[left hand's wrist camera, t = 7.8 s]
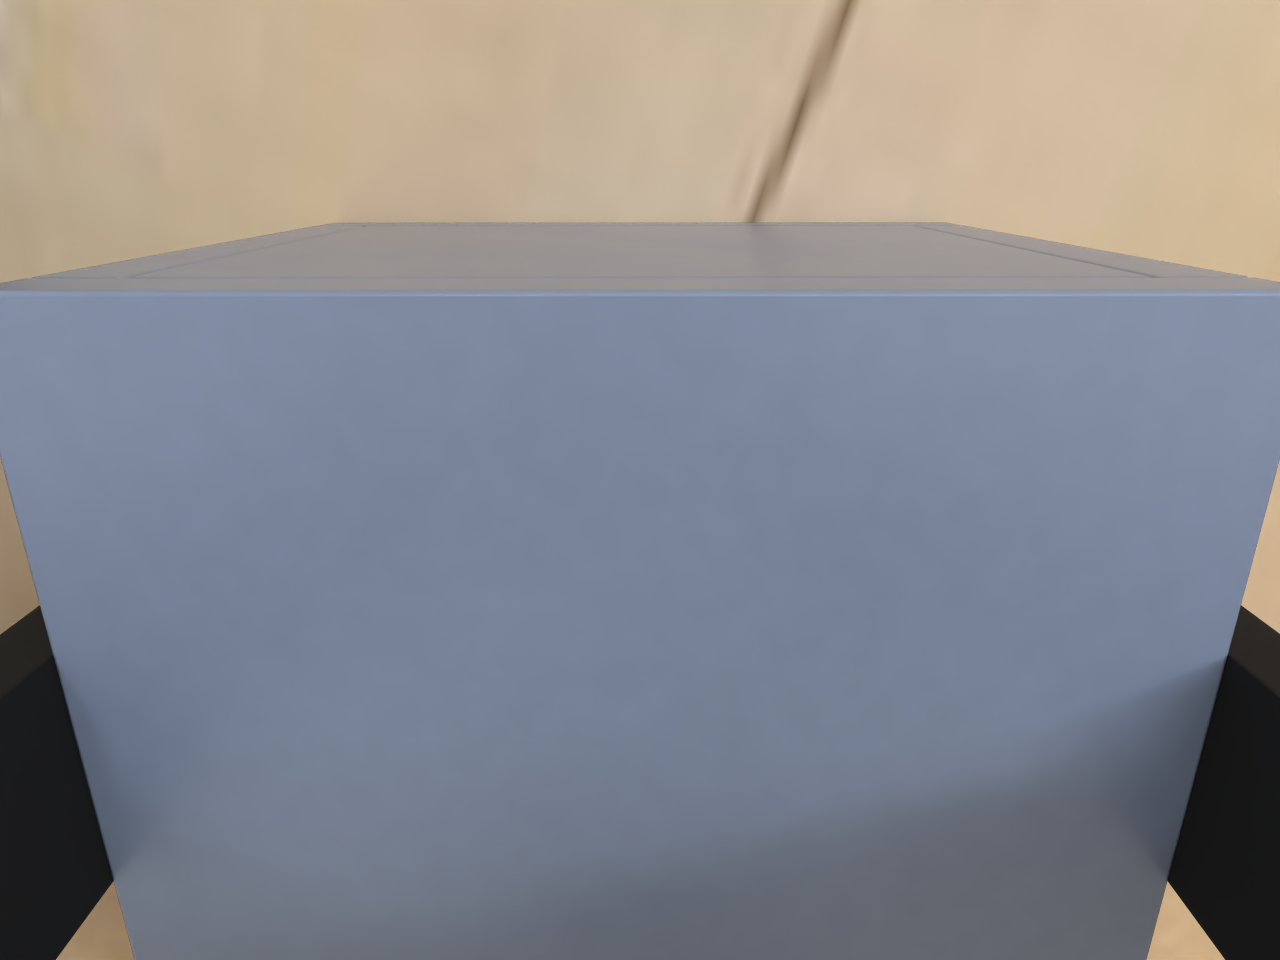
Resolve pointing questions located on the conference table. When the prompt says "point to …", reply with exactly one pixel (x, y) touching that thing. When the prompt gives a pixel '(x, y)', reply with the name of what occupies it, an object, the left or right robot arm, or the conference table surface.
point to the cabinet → (640, 583)
